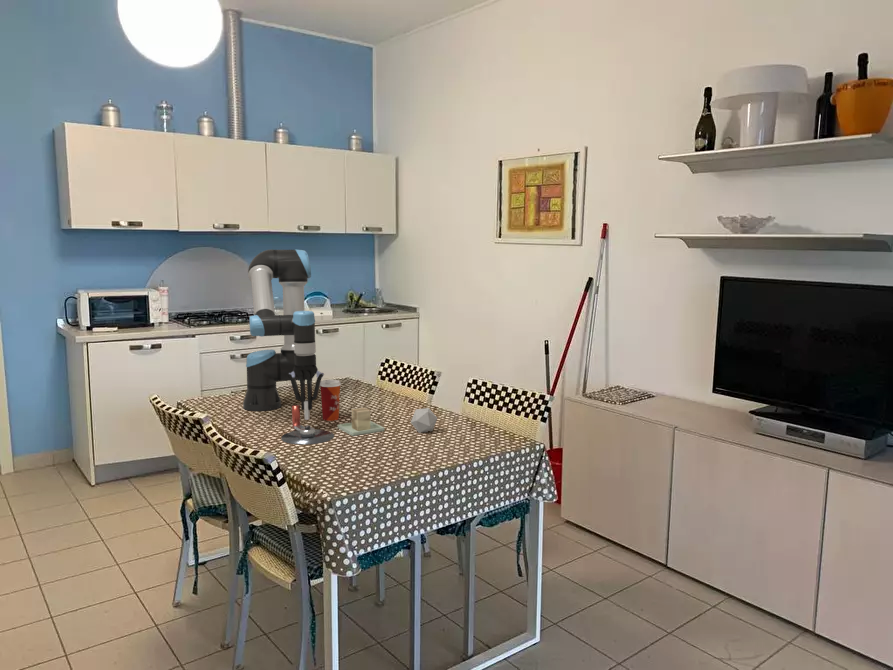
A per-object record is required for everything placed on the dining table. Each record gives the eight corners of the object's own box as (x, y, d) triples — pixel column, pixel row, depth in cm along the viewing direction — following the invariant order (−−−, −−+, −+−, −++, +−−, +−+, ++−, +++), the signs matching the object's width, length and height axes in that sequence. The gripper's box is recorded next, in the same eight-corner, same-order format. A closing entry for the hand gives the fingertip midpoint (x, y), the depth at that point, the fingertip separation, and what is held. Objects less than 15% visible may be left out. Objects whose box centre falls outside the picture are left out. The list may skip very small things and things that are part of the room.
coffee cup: (337, 422, 255) (336, 383, 253) (316, 421, 257) (315, 382, 255) (344, 417, 264) (344, 379, 262) (324, 415, 265) (324, 378, 263)
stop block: (351, 428, 246) (351, 409, 245) (364, 426, 249) (364, 407, 248) (357, 431, 242) (357, 412, 241) (370, 429, 244) (370, 410, 244)
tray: (337, 428, 247) (337, 424, 247) (368, 423, 254) (368, 419, 254) (352, 436, 237) (352, 432, 237) (384, 431, 244) (384, 427, 243)
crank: (317, 435, 235) (317, 411, 233) (304, 438, 232) (303, 413, 231) (301, 427, 246) (300, 404, 245) (288, 429, 243) (287, 405, 242)
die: (431, 428, 251) (414, 407, 250) (445, 420, 245) (429, 399, 244) (418, 441, 245) (402, 419, 244) (433, 434, 239) (416, 411, 238)
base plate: (274, 435, 238) (273, 424, 237) (321, 428, 248) (321, 417, 247) (292, 448, 223) (292, 436, 222) (342, 440, 233) (342, 428, 232)
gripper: (325, 352, 245) (326, 416, 247) (289, 352, 245) (291, 416, 247) (321, 355, 237) (323, 421, 240) (284, 355, 237) (286, 421, 240)
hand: (307, 418), depth 244 cm, fingers closed
